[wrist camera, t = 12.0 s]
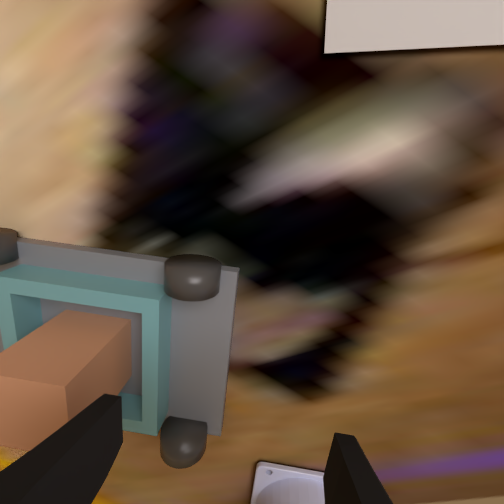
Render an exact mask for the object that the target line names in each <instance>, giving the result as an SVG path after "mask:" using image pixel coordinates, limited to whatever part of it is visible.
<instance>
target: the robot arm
mask: <svg viewBox="0 0 504 504" xmlns="http://www.w3.org/2000/svg"><path fill="white" fill-rule="evenodd" d="M122 443H123V429H122V396H116V395H111V394H105V393H104V394H103V395H102V396H100V397H99V398H98V399H96V400H95V401H94V402H92V403H91V404H90V405H89V406H87V407H86V408H85V409H84V410H82V411H81V412H80V413H78V414H77V415H76V416H75V417H73V418H72V419H71V420H70V421H68V422H67V423H66V424H64V425H63V426H62V427H61V428H59V429H58V430H57V431H55V432H54V433H53V434H51V435H50V436H49V437H47V438H46V439H45V440H43V441H42V442H41V443H39V444H38V445H37V446H35V447H34V448H33V449H31V450H30V451H29V452H27V453H26V454H25V455H23V456H22V457H20V458H19V459H18V460H16V461H15V462H13V463H12V464H11V465H9V466H8V467H6V468H5V469H4V470H2V471H1V472H0V504H91V503H92V502H93V500H94V498H95V496H96V495H97V493H98V491H99V489H100V488H101V486H102V484H103V483H104V481H105V479H106V477H107V475H108V473H109V471H110V469H111V467H112V465H113V463H114V460H115V458H116V456H117V454H118V452H119V449H120V447H121V445H122ZM250 504H393V503H392V501H391V499H390V498H389V496H388V494H387V493H386V491H385V489H384V487H383V486H382V484H381V482H380V481H379V479H378V477H377V475H376V474H375V472H374V470H373V468H372V467H371V465H370V463H369V461H368V459H367V458H366V456H365V454H364V452H363V450H362V449H361V447H360V445H359V443H358V441H357V439H356V438H355V437H354V436H353V435H347V434H341V433H335V434H334V437H333V441H332V445H331V449H330V453H329V457H328V460H327V464H326V468H325V472H318V471H313V470H307V469H301V468H296V467H290V466H285V465H279V464H273V463H268V462H259V463H258V464H257V466H256V472H255V478H254V484H253V491H252V497H251V503H250Z"/></svg>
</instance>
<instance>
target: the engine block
mask: <svg viewBox="0 0 504 504" xmlns="http://www.w3.org/2000/svg"><path fill="white" fill-rule="evenodd" d="M131 376H132V358H131V319H125V318H118V317H112V316H105V315H99V314H92V313H86V312H79V311H73V310H67V309H66V310H64V311H63V312H61V313H60V314H58V315H57V316H55V317H54V318H52V319H51V320H49V321H48V322H46V323H45V324H43V325H42V326H40V327H39V328H37V329H36V330H34V331H33V332H31V333H30V334H28V335H27V336H25V337H24V338H22V339H21V340H19V341H18V342H16V343H15V344H13V345H12V346H10V347H9V348H7V349H5V350H4V351H2V352H1V353H0V446H5V447H10V448H16V449H21V450H26V451H30V450H31V449H33V448H34V447H35V446H37V445H38V444H39V443H41V442H42V441H43V440H45V439H46V438H47V437H49V436H50V435H51V434H53V433H54V432H55V431H57V430H58V429H59V428H61V427H62V426H63V425H64V424H66V423H67V422H68V421H70V420H71V419H72V418H73V417H75V416H76V415H77V414H78V413H80V412H81V411H82V410H84V409H85V408H86V407H87V406H89V405H90V404H91V403H92V402H94V401H95V400H96V399H98V398H99V397H100V396H102V395H103V394H104V393H105V394H111V395H116V396H117V395H118V394H119V393H120V391H121V390H122V388H123V387H124V386H125V384H126V383H127V381H128V380H129V379H130V377H131Z"/></svg>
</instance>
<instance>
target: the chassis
mask: <svg viewBox="0 0 504 504" xmlns="http://www.w3.org/2000/svg"><path fill="white" fill-rule="evenodd" d="M238 277H239V268H236V267H228V266H221V263H220V262H219V261H218V260H216V259H214V258H212V257H208V256H203V255H194V254H186V255H177V256H173V257H170V258H164V257H157V256H150V255H142V254H135V253H128V252H121V251H114V250H107V249H99V248H92V247H85V246H78V245H71V244H64V243H56V242H49V241H42V240H35V239H28V238H21V237H17V232H16V231H15V230H12V229H8V228H0V353H1V352H2V351H4V350H5V349H7V348H9V347H10V346H12V345H13V344H15V343H16V342H18V341H19V340H21V339H22V338H24V337H25V336H27V335H28V334H30V333H31V332H33V331H34V330H36V329H37V328H39V327H40V326H42V325H43V324H45V323H46V322H48V321H49V320H51V319H52V318H54V317H55V316H57V315H58V314H60V313H61V312H63V311H64V310H66V309H67V310H73V311H79V312H86V313H92V314H99V315H105V316H112V317H118V318H125V319H131V358H132V376H131V377H130V379H129V380H128V381H127V383H126V384H125V386H124V387H123V388H122V390H121V391H120V393H119V394H118V395H117V396H122V429H123V430H125V431H131V432H136V433H142V434H148V435H153V436H157V435H158V432H159V430H160V428H161V437H160V453H161V457H162V459H163V461H164V462H165V463H166V464H167V465H169V466H171V467H173V468H178V469H181V468H187V467H190V466H192V465H194V464H195V463H197V462H198V461H199V460H200V459H201V457H202V456H203V454H204V452H205V449H206V439H207V434H211V435H216V436H221V431H222V427H223V418H224V408H225V399H226V390H227V380H228V371H229V361H230V352H231V343H232V333H233V324H234V315H235V305H236V296H237V286H238ZM161 426H162V427H161Z"/></svg>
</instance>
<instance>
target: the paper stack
mask: <svg viewBox="0 0 504 504" xmlns="http://www.w3.org/2000/svg"><path fill="white" fill-rule="evenodd" d="M487 45H504V0H327V11H326V30H325V48H324V53H344V52H364V51H385V50H405V49H425V48H446V47H466V46H487Z"/></svg>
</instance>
